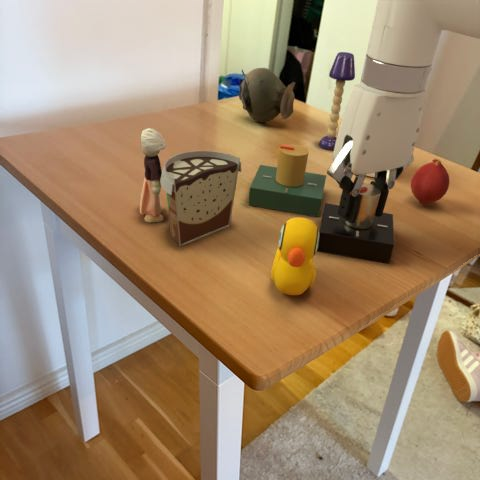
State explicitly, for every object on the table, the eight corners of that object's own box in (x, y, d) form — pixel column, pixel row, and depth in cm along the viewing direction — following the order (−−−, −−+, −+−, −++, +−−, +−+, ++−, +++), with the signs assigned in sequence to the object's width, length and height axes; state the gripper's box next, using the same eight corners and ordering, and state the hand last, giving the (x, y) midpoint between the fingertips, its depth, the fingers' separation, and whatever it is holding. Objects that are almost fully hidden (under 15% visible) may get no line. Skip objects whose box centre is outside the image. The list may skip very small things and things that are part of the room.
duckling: (309, 321, 61) (325, 247, 55) (263, 313, 61) (274, 239, 55) (314, 267, 70) (328, 198, 63) (273, 261, 70) (283, 192, 64)
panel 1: (323, 192, 88) (326, 174, 86) (318, 217, 81) (322, 198, 79) (258, 181, 89) (260, 163, 87) (248, 205, 82) (250, 186, 80)
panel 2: (387, 232, 79) (393, 212, 77) (388, 263, 72) (394, 243, 70) (321, 220, 80) (325, 201, 78) (316, 251, 73) (320, 230, 71)
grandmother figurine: (133, 206, 79) (129, 120, 71) (159, 203, 80) (157, 118, 72) (146, 231, 73) (143, 142, 65) (173, 228, 75) (173, 139, 67)
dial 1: (304, 177, 84) (310, 144, 81) (301, 188, 81) (307, 155, 78) (277, 172, 85) (282, 140, 82) (273, 184, 82) (278, 150, 78)
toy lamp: (312, 143, 104) (327, 51, 94) (327, 139, 107) (344, 49, 96) (330, 152, 102) (348, 58, 91) (345, 147, 104) (365, 55, 94)
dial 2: (359, 213, 76) (368, 178, 73) (378, 226, 74) (387, 191, 70) (338, 218, 75) (345, 183, 71) (355, 231, 72) (364, 196, 69)
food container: (208, 206, 81) (212, 142, 74) (237, 223, 77) (242, 157, 71) (142, 231, 73) (140, 162, 67) (170, 250, 70) (170, 179, 64)
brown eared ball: (273, 135, 106) (280, 80, 100) (224, 119, 111) (227, 67, 104) (297, 122, 113) (304, 71, 107) (249, 108, 118) (254, 58, 111)
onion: (412, 193, 90) (427, 147, 85) (445, 204, 88) (462, 158, 83) (400, 204, 86) (414, 157, 81) (433, 216, 84) (450, 169, 79)
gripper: (422, 63, 68) (386, 194, 80) (318, 71, 61) (295, 214, 72) (467, 80, 63) (422, 216, 75) (360, 90, 56) (328, 240, 67)
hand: (359, 214), depth 73 cm, fingers closed on dial 2, 4 cm apart
